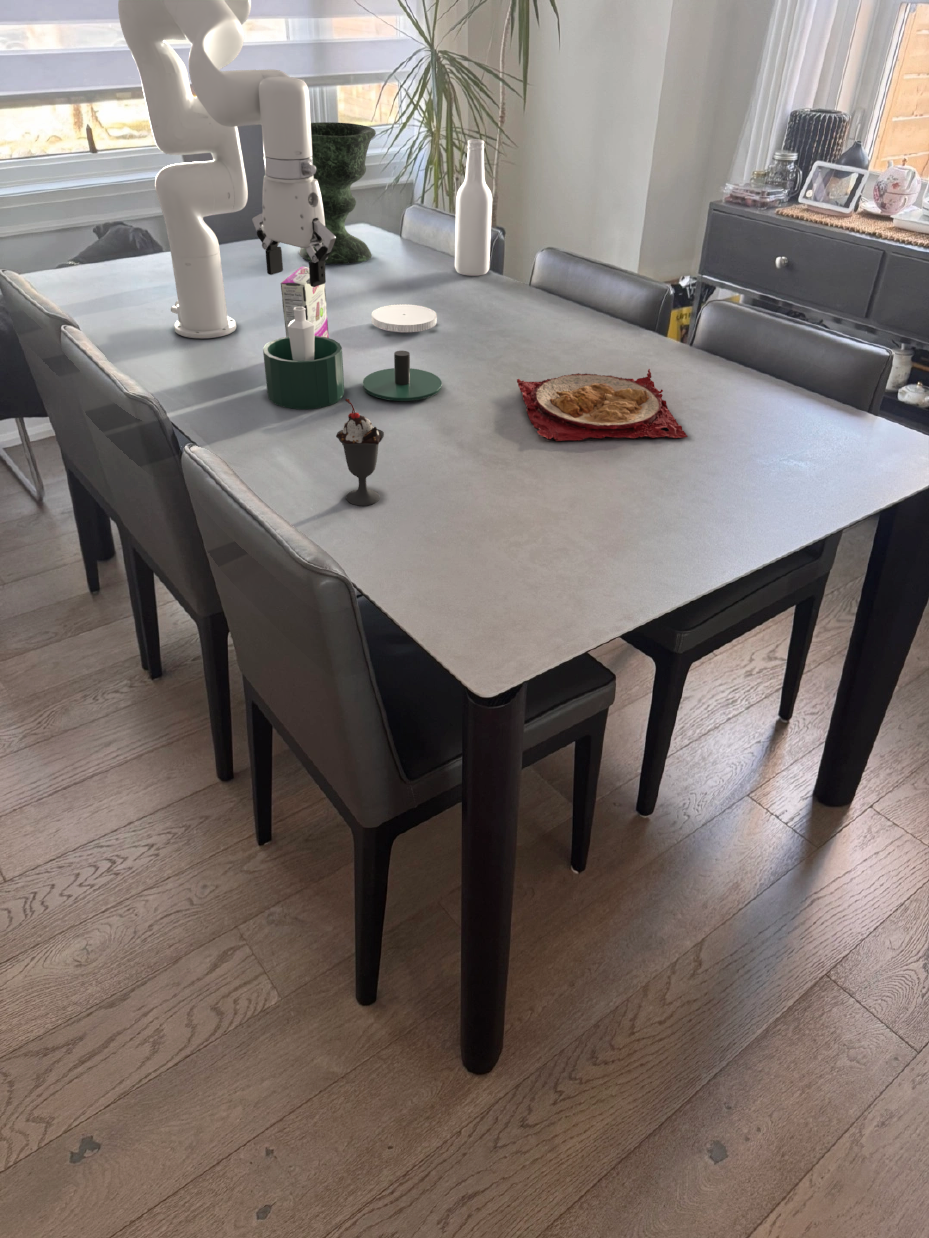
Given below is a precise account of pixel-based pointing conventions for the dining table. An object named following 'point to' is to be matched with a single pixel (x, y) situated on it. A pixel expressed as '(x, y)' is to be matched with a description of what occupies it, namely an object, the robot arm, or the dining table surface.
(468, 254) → the alcohol
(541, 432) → the plate with food
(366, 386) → the lid
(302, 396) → the tin
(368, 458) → the sundae
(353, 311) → the dining table surface
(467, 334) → the dining table surface
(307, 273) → the candy bar box
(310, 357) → the perfume bottle
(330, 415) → the dining table surface
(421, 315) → the plastic lid
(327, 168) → the goblet
